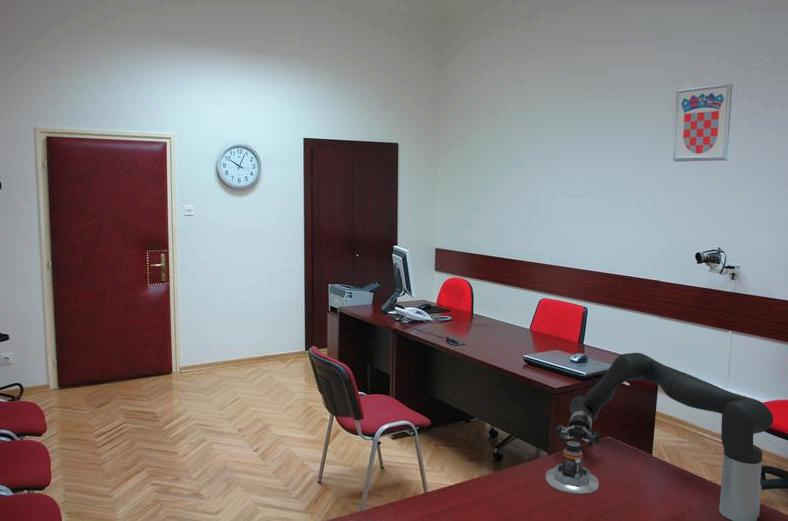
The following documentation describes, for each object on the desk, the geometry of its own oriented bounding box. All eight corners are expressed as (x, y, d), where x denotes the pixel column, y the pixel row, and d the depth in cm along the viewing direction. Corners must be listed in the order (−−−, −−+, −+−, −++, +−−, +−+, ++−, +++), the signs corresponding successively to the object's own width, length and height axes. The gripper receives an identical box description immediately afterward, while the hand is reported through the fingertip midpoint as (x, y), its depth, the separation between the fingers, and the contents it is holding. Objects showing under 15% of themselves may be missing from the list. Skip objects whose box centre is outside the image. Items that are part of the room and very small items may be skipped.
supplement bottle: (582, 483, 179) (584, 448, 178) (562, 481, 180) (564, 446, 179) (580, 474, 185) (582, 440, 183) (561, 472, 186) (562, 438, 185)
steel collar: (575, 466, 193) (575, 456, 192) (610, 488, 178) (610, 477, 178) (535, 474, 186) (535, 464, 186) (567, 498, 172) (568, 487, 171)
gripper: (560, 411, 208) (554, 427, 193) (602, 417, 203) (599, 434, 188) (559, 431, 209) (553, 449, 194) (600, 438, 204) (598, 456, 189)
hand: (576, 442), depth 191 cm, fingers open, 8 cm apart
